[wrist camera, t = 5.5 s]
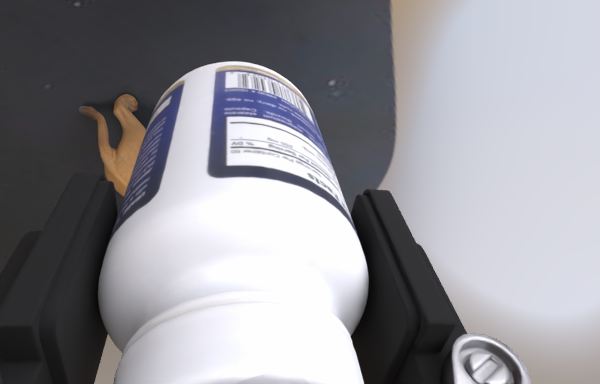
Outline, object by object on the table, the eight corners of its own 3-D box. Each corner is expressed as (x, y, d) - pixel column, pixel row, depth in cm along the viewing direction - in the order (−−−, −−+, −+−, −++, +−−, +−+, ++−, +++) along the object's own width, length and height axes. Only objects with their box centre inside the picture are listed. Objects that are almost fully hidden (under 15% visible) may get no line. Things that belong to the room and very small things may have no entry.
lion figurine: (285, 170, 34) (297, 248, 26) (250, 217, 36) (252, 300, 29) (95, 74, 28) (42, 138, 20) (68, 137, 30) (12, 215, 23)
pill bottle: (199, 221, 16) (166, 547, 8) (117, 96, 13) (-65, 428, 5) (335, 172, 16) (441, 469, 8) (284, 29, 12) (374, 284, 5)
